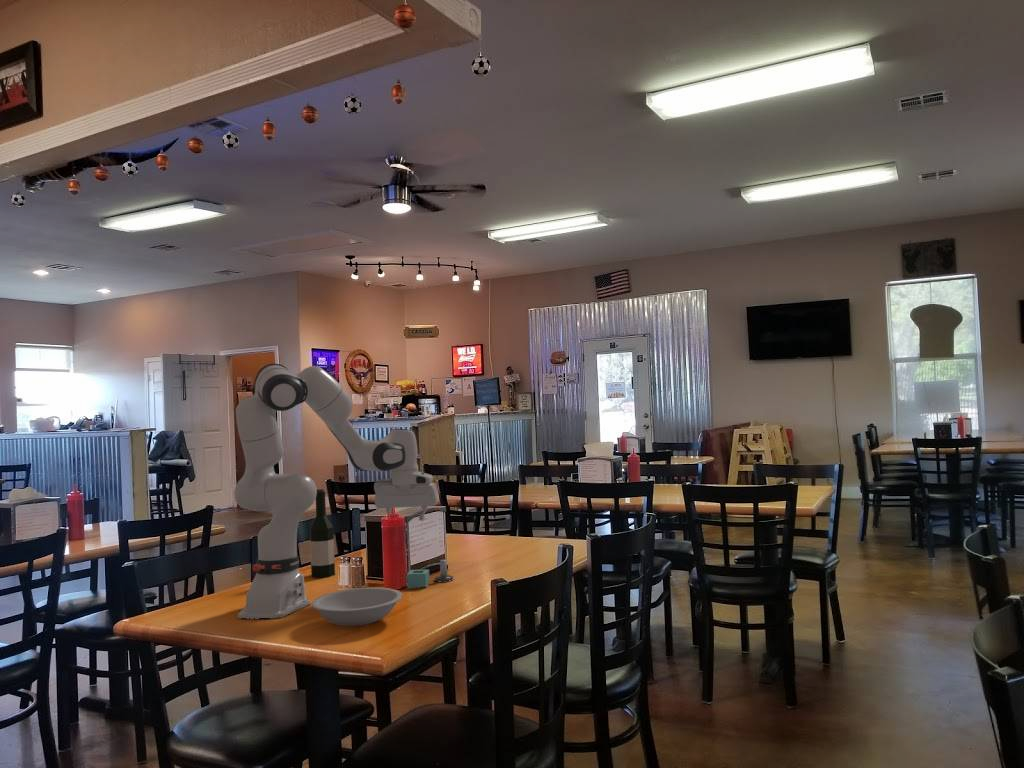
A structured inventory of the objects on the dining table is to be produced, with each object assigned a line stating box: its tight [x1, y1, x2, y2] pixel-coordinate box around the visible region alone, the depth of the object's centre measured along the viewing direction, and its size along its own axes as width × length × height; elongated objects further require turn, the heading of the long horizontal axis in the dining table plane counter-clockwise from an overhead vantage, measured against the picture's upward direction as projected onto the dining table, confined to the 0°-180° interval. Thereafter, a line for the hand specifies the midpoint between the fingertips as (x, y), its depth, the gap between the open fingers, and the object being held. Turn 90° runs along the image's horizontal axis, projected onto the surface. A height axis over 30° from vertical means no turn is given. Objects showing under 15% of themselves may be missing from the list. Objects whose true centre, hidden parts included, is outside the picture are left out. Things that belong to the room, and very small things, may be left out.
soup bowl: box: [310, 587, 403, 627], centre depth 202 cm, size 24×24×7 cm
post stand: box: [434, 559, 454, 583], centre depth 248 cm, size 6×6×6 cm
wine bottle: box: [309, 488, 336, 579], centre depth 264 cm, size 8×8×30 cm
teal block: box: [406, 569, 431, 589], centre depth 241 cm, size 6×6×4 cm
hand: (407, 520), depth 243 cm, fingers open, 8 cm apart
